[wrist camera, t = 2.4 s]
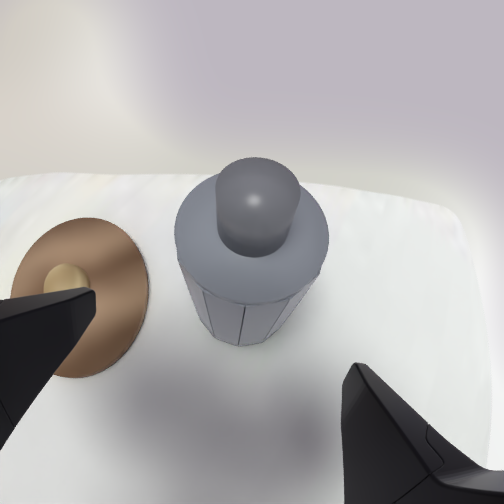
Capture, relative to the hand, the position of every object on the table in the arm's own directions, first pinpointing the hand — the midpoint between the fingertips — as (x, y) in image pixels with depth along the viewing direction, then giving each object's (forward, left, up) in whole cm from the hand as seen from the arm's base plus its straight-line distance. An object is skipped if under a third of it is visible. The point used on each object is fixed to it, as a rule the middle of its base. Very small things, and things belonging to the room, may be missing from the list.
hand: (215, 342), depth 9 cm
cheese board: (+12, +7, -13) cm, 19 cm away
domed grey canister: (+3, -4, -12) cm, 13 cm away
